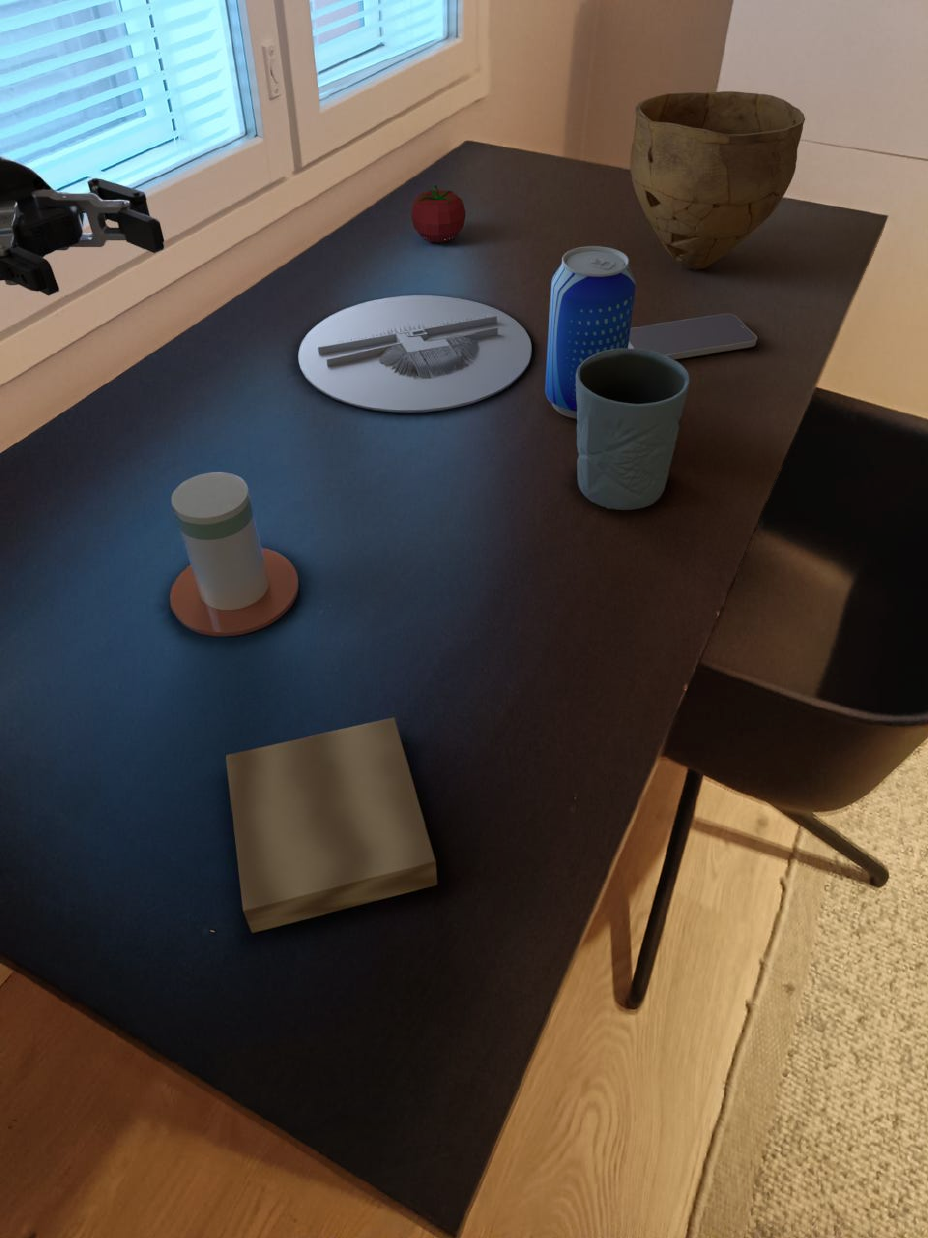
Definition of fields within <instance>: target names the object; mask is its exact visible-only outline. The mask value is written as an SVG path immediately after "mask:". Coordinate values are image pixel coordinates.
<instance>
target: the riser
mask: <svg viewBox="0 0 928 1238" xmlns="http://www.w3.org/2000/svg"><path fill="white" fill-rule="evenodd" d="M403 746H404V745H403V742H402V738H401V735H400V732H399V728H398V725H397V720H396V718H395V717H390V718H385V719H381V720H376V721H372V722H368V723H363V724H358V725H354V726H350V727H345V728H341V729H337V730H332V731H327V732H323V733H319V734H315V735H314V734H313V735H310V736H306V737H305V736H304V737H301V738H296V739H291V740H288V741H283V742H278V743H274V744H270V745H266V746H261V747H257V748H256V747H255V748H252V749H247V750H243V751H238V752H234V753H230V754H226V755H225V761H226V773H227V780H228V790H229V796H230V797H229V798H230V806H231V815H232V824H233V833H234V843H235V853H236V860H237V861H236V862H237V869H238V878H239V888H240V896H241V905H242V906H241V907H242V912H243V914H244V917H245V920H246V922H247V924H248V927H249V929H250V932H251V934H255V933H258V932H261V931H266V930H271V929H274V928H278V927H281V926H286V925H288V924H293V923H297V922H300V921H305V920H309V919H312V918H315V917H320V916H323V915H327V914H331V913H335V912H339V911H343V910H347V909H350V908H353V907H357V906H362V905H365V904H370V903H372V902H377V901H380V900H381V901H382V900H384V899H388V898H389V899H390V898H392V897H397V896H400V895H403V894H407V893H411V892H415V891H418V890H424V889H426V888H430V887H434V886H437V885H438V874H437V860H436V857H435V854H434V850H433V846H432V843H431V840H430V836H429V833H428V829H427V825H426V823H425V819H424V815H423V812H422V809H421V805H420V802H419V798H418V794H417V791H416V788H415V783H414V781H413V780H414V779H413V777H412V773H411V771H410V766H409V763H408V760H407V756H406V752H405V749H404V747H403Z"/></svg>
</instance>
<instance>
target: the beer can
mask: <svg viewBox="0 0 928 1238" xmlns="http://www.w3.org/2000/svg"><path fill="white" fill-rule="evenodd" d="M636 287H637V282H636V279H635V277H634V274H633V273H632V270H631V269H630V258H629V257H628V256H627V254H625V253H624V252H622V251H620V250H618V249H615V248H613V247H606V246H600V245H586V246H580V247H576V248H573V249H570V250H568V251H567V252H565V253H564V254H563V256H562V258H561V264H560V266H559V267H558V268H557V269H556V271H555V272H554V274H553V275H552V278H551V283H550V297H549V298H550V300H549V301H550V302H549V318H548V332H547V333H548V337H547V353H546V368H545V369H546V370H545V388H544V391H545V392H544V393H545V396H546V398H547V400H548V401H549V402H550V403H551V407H552V408H553V409H554V410H555V411H556V412H557V413H558V414H561V415H562V416H565V417H568V418H571V419H575V420H577V400H576V371H577V369H578V367H579V366H580V364H581V363H582V362H583V361H584V360H585V359H587V358H588V357H590V356H592V355H594V354H597V353H600V352H603V351H607V350H613V349H623V348H628V344H629V336H630V328H632V319H633V312H634V304H635V295H636ZM628 349H629V348H628Z"/></svg>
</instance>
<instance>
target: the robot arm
mask: <svg viewBox="0 0 928 1238" xmlns="http://www.w3.org/2000/svg"><path fill="white" fill-rule="evenodd" d="M86 183H87V187H88V190H89V192H66V191H65V192H64V191H58V190H56V189H54V188H52V186H51V185H49V184H48V182H47V181H46V180H45V179H44V178H43V177H42V176H41V175H40V174H39V173H37V171H35V170H34V169H33V168H31V167H29V166H27V165H25V164H23V163H21V162H18V161H16V160H13V159H10V158H8V157H5V156H2V155H0V282H1V281H4V283H5V285H6V286H21V287H22V288H24V289H27V290H29V291H30V292H37V293H38V292H40V293H42V294H44V295H46V296H47V297H48V296H51V295H53V294H56V293H59V292H60V288H59V283H58V282H57V279H56V276H55V273H54V270H53V267H52V265H51V263H50V262H49V260H48V259H46V258H44V257H46V256H48V255H50V254H52V253H55V252H56V251H68V250H69V249H70V248H102V247H104V246H105V245H106V243H107V242H108V241H125V242H126V243H129V244H130V245H133V246H136V247H138V248H140V249H142V250H146V251H148V252H150V253H153V254H156V253H159V252H161V251H163V250H164V249H165V244H164V242H165V238H164V237H165V236H164V233H163V230H162V226H161V221H160V220H159V219H158V218H155V217H152V216H151V213H150V211H149V206H148V202H147V196H146V192H145V191H142V190H138V189H136V188H132V187H129V186H126V185H122V184H120V183H116V182H113V181H110V180H106V179H103V178H98V177H94V178H91V179H89V180H87V182H86ZM85 215H86V218H87V221H88V224H89V228H90V231H91V233H84V226H85ZM106 221H111V222H114V223H117V227H110V226H108V224H107V222H106Z"/></svg>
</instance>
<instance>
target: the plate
mask: <svg viewBox="0 0 928 1238" xmlns="http://www.w3.org/2000/svg"><path fill="white" fill-rule="evenodd" d="M297 357H298V364H299V368H300V371H301V373H302V375H303V376H304V378H305V379H306V381H307V382H308V383H309V384H311V386H313V387H314V388H315V389H316V390H318V391H319V392H321V393H322V394H324V395H326V396H327V397H329V398H331V399H333V400H336V401H339V402H341V403H344V404H347V405H350V406H353V407H357V408H362V409H367V410H372V411H378V412H385V413H386V412H388V413H398V414H399V413H406V414H408V413H429V412H430V413H431V412H437V411H438V412H439V411H445V410H452V409H457V408H460V407H465V406H468V405H471V404H475V403H478V402H480V401H482V400H483V401H484V400H485V399H488V398H490V397H493V396H494V395H496V394H498V393H500V392H502V391H503V390H505V389H508V388H509V386H511V385H513V383H515V382H516V381H517V380H518V379H519V378H520V377H521V376H522V375H523V373H524V372H525V371H526V370H527V368H528V366H529V365H530V361H531V358H532V342H531V338H530V336H529V334H528V333H527V331H526V330H525V328H524V327H523V326H522V325H521V324H520V323H519V322H518V321H517V320H515V318H513V317H512V316H510V315H508V314H507V313H505V312H504V311H501V310H499V309H497V308H495V307H492V306H490V305H487V304H483V303H481V302H477V301H473V300H469V299H465V298H464V299H463V298H459V297H452V296H446V295H445V296H444V295H443V296H442V295H433V294H432V295H430V294H429V295H428V294H413V295H411V294H410V295H398V296H389V297H384V298H378V299H377V298H376V299H374V300H369V301H365V302H361V303H358V304H355V305H352V306H349V307H346V308H344V309H342V310H339V311H337V312H335V313H333V314H332V315H329V316H328V317H326V318H324V319H323V320H322V321H320V322H319V323H318V324H316V325H315V326H314V327H313V328H312V329H311V330H309V331H308V332H307V334H306V335H305V337H304V338H303V339H302V341H301V343H300V346H299V350H298V355H297Z"/></svg>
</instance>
